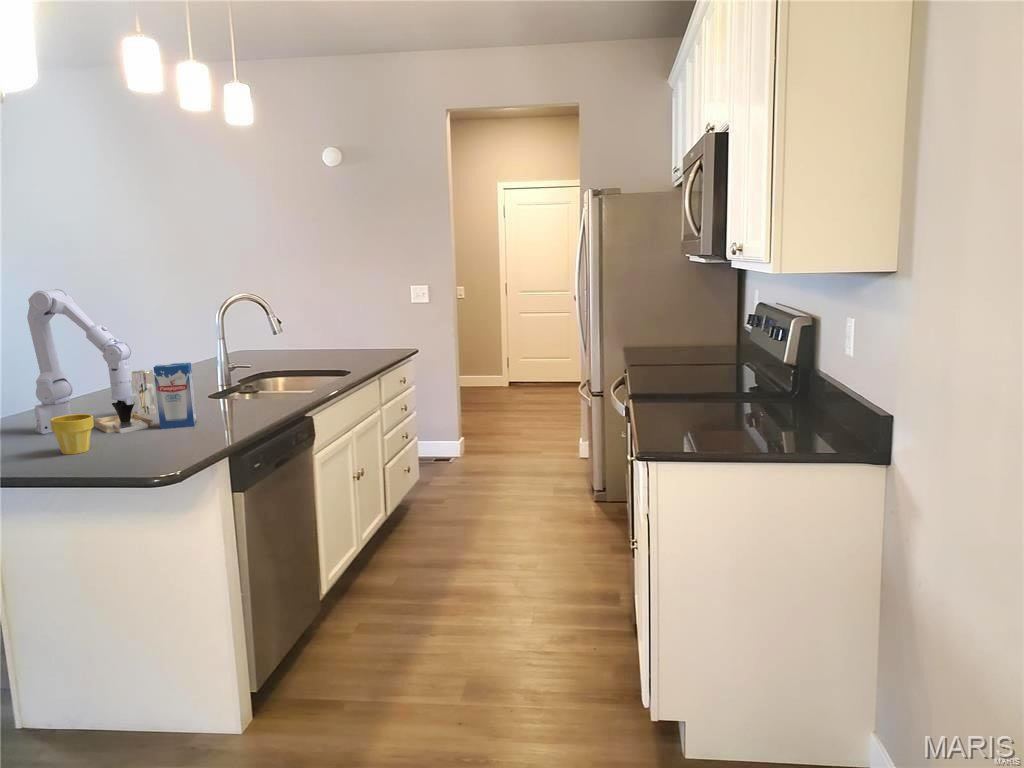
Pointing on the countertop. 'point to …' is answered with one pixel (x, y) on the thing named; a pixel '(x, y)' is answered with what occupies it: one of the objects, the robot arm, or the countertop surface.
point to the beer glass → (144, 391)
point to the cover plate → (130, 426)
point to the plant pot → (73, 432)
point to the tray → (107, 422)
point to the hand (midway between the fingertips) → (125, 424)
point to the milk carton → (175, 395)
